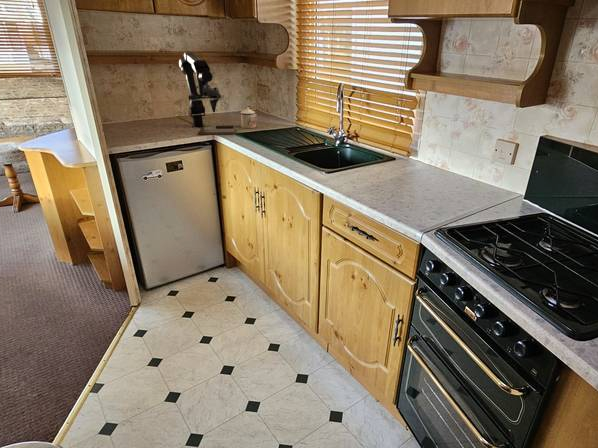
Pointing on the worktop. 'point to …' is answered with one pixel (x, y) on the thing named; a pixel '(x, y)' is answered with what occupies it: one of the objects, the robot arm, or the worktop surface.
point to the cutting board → (217, 132)
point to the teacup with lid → (248, 118)
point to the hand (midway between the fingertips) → (207, 112)
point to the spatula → (221, 127)
